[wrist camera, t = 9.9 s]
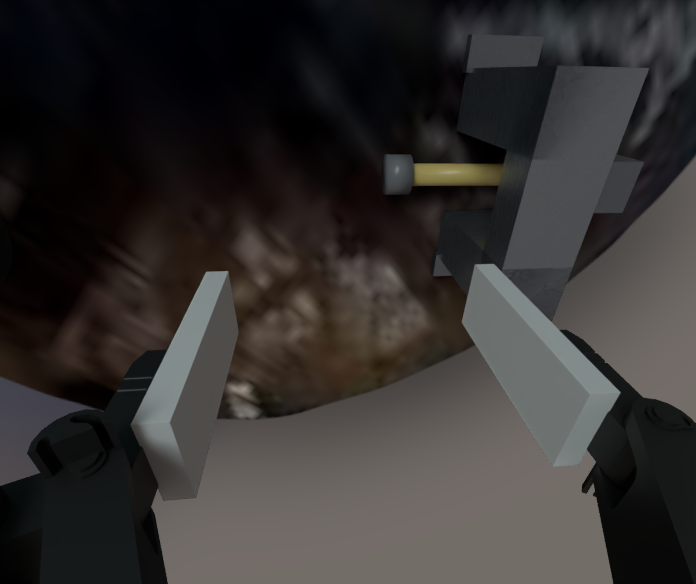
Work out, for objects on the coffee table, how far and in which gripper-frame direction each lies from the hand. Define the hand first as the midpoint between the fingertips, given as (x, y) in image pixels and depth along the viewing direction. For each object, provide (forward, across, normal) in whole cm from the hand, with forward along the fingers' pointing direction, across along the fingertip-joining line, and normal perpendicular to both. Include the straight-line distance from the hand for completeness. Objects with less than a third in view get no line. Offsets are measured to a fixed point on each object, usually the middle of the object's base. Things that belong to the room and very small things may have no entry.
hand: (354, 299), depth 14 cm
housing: (+21, +14, 0) cm, 25 cm away
